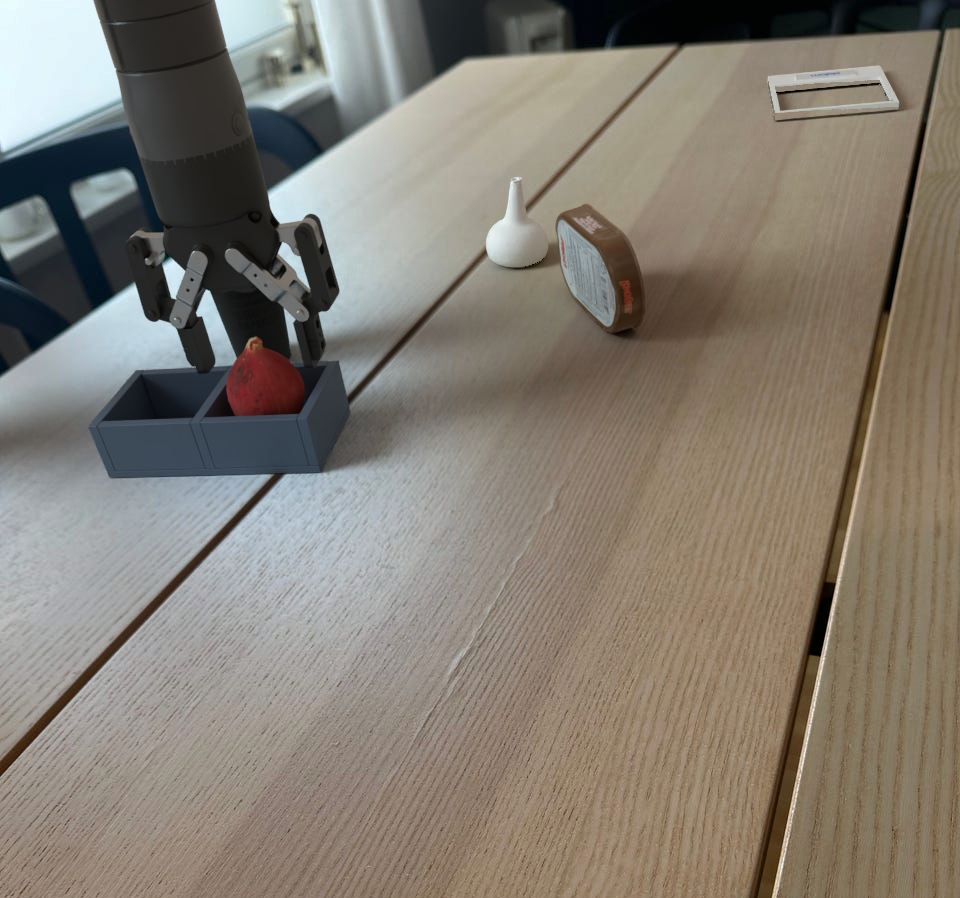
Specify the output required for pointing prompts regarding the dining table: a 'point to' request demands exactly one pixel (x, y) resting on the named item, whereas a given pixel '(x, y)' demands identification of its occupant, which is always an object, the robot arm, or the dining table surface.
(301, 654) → the dining table surface
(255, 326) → the drinking cup
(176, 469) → the compartment box
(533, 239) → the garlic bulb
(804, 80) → the photo frame
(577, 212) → the tin
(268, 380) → the pomegranate
